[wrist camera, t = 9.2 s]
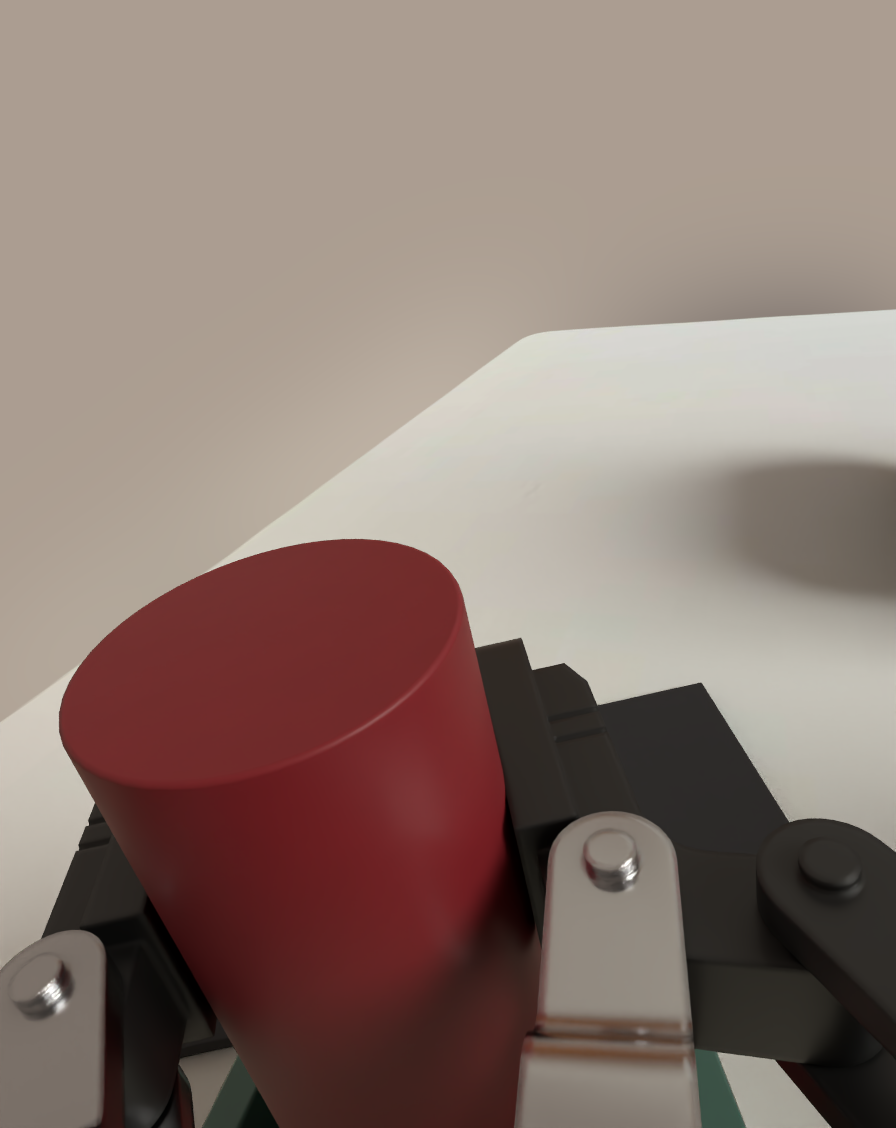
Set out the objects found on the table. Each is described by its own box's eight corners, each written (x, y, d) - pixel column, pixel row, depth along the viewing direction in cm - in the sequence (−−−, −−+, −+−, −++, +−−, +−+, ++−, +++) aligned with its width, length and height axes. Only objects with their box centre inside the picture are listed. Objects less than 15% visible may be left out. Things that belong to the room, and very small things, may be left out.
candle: (426, 1489, 14) (-15, 833, 6) (413, 1215, 17) (119, 583, 10) (656, 1440, 14) (491, 719, 6) (596, 1175, 17) (443, 508, 10)
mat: (120, 1071, 22) (114, 1063, 22) (188, 804, 31) (185, 797, 31) (839, 912, 22) (840, 903, 22) (702, 690, 31) (701, 681, 30)
